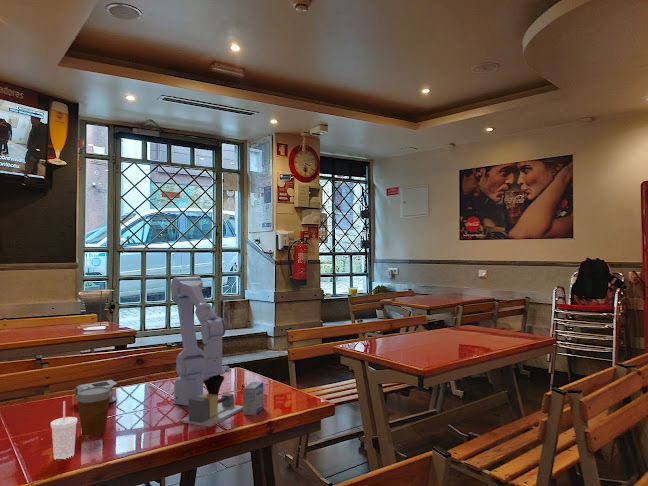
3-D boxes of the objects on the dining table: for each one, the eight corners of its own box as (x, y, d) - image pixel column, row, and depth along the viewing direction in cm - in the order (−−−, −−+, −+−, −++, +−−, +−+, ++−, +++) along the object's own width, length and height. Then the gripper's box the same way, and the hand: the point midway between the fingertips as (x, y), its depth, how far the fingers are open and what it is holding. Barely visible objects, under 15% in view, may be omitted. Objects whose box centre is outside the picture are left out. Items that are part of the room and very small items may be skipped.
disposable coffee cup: (87, 440, 131) (87, 397, 132) (68, 434, 136) (68, 392, 137) (118, 429, 139) (118, 388, 140) (99, 423, 144) (99, 384, 145)
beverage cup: (44, 459, 120) (44, 403, 120) (65, 449, 125) (65, 396, 126) (62, 462, 117) (62, 406, 118) (82, 453, 123) (83, 399, 123)
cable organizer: (82, 391, 157) (119, 384, 165) (72, 383, 166) (108, 377, 174) (82, 411, 157) (119, 403, 165) (72, 402, 166) (108, 395, 174)
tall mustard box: (196, 415, 147) (196, 396, 148) (204, 412, 151) (204, 393, 151) (209, 418, 145) (209, 398, 146) (217, 413, 149) (217, 394, 149)
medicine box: (255, 415, 150) (255, 388, 150) (242, 415, 151) (242, 387, 151) (263, 408, 158) (263, 382, 158) (251, 407, 159) (251, 381, 159)
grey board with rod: (181, 422, 145) (181, 398, 145) (216, 404, 162) (216, 383, 162) (210, 427, 141) (210, 402, 141) (243, 408, 157) (243, 387, 157)
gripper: (209, 362, 143) (209, 407, 143) (236, 353, 157) (236, 394, 156) (190, 361, 146) (190, 405, 146) (218, 351, 159) (219, 392, 159)
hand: (213, 399), depth 151 cm, fingers closed
